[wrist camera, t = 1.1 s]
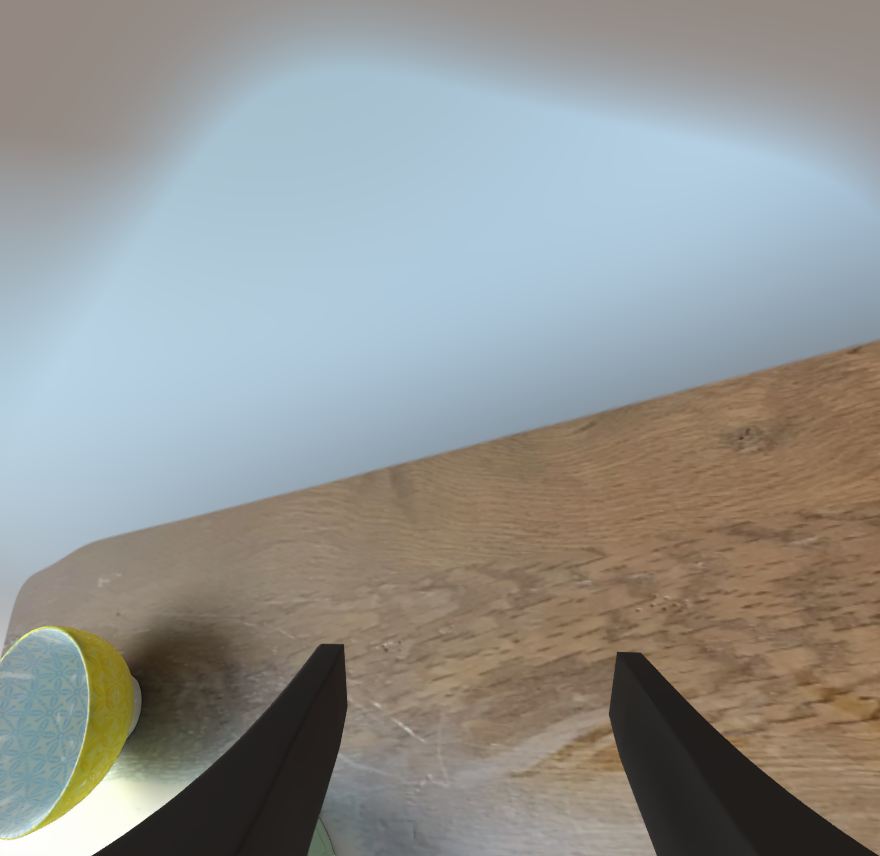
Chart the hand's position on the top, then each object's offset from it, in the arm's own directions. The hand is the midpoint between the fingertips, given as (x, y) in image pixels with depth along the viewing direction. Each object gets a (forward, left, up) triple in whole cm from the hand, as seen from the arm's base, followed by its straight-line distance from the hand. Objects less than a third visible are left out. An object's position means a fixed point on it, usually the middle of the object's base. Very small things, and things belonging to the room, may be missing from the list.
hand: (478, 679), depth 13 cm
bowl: (+33, +3, -14) cm, 36 cm away
